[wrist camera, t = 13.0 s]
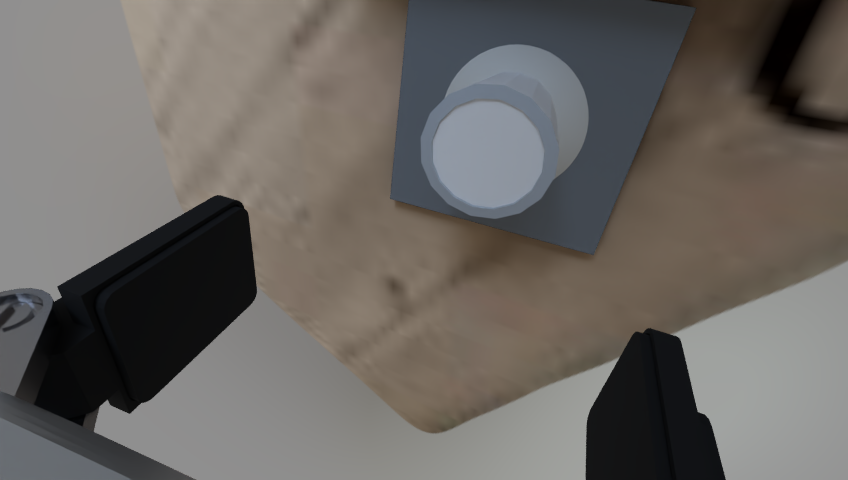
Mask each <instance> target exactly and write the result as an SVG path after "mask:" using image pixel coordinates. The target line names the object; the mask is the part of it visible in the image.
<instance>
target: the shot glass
mask: <svg viewBox="0 0 848 480" xmlns="http://www.w3.org/2000/svg"><path fill="white" fill-rule="evenodd" d="M558 154H559V140H558V129H557V118H556V111H555V108H554V104H553V101H552V97H551V95H550V94H549V92H548V91H547V90H546V89H545V88H544V86H543V85H542V84H541V83H540V82H539V81H538V80H536V79H534V78H532V77H530V76H528V75H526V74H524V73H522V72H501V73H499V74H496V75H494V76H491V77H489V78H486V79H484V80H481V81H479V82H477V83H474V84H472V85H469V86H467V87H465V88H462V89H460V90H457V91H455V92H453V93H450V94H448V95H447V97H446V98H445V99H444V100H443V101H442V102H441V103H440V104H439V105H438V106H437V107H436V108H435V109H434V110H433V111H432V112H431V113H430V114H429V117H428V120H427V122H426V125H425V127H424V130H423V133H422V135H421V163H422V166H423V168H424V170H425V173H426V175H427V177H428V180H429V182H430V185H431V186H432V187H433V189H434V190H435V191H436V192H437V193H438V194H439V195H440V196H441V197H442V198H443V199H444V200H445V201H446V202H447V203H448V204H449V205H451V206H453V207H455V208H457V209H458V210H460V211H462V212H464V213H466V214H468V215H470V216H477V217H485V218H492V219H497V218H502V217H506V216H510V215H515V214H519V213H521V212H523V211H524V210H525V209H527V208H528V207H530V206H531V205H533V204H534V203H536V202H537V201H538V200H540V199H541V198H542V197H543V195H544V193H545V192H546V190H547V189H548V187H549V185H550V184H551V182H552V181H553V179H554V178H555V175H556V168H557V161H558Z"/></svg>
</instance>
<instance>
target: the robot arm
mask: <svg viewBox="0 0 848 480" xmlns="http://www.w3.org/2000/svg"><path fill="white" fill-rule="evenodd" d="M58 290H59V292H60V294H61V296H62V298H60V299H58V300H57V301H55V302H54V301H53V299H52V297H51V296H50V294H48V293H47V292H45V291H43V290H39V289H32V288H26V289H14V290H9V291H3V292H0V480H196V479H193V478H191V477H189V476H187V475H185V474H183V473H181V472H179V471H176V470H174V469H172V468H170V467H168V466H166V465H164V464H161V463H159V462H157V461H155V460H153V459H151V458H149V457H146V456H144V455H142V454H140V453H138V452H136V451H134V450H131V449H129V448H127V447H125V446H123V445H121V444H118V443H116V442H114V441H112V440H110V439H108V438H105V437H103V436H101V435H99V434H97V433H95V432H94V428H95V423H96V419H97V415H98V411H99V406H100V405H102V404H103V403H104V402H105V401H106V400H107V399H108V401H109V403H110V405H111V406H113V407H116V408H118V409H120V410H122V411H125V412H127V413H129V414H130V413H131V412H132V411H133V410H134V409H135V408H136V407H137V406H138V405H140V404H141V403H144V402H147V401H149V400H151V399H152V398H153V397H154V396H155V395H156V394H157V393H158V392H159V391H160V390H161V389H162V388H164V387H165V386H166V385H167V384H168V383H169V382H170V381H171V380H172V379H173V378H174V377H175V376H176V375H177V374H178V373H179V372H180V371H181V370H183V368H185V367H186V366H187V365H188V364H189V363H190V362H191V361H192V360H193V359H194V358H195V357H196V356H197V355H198V354H199V353H200V352H201V351H202V350H203V349H205V348H206V347H207V346H208V345H209V344H210V343H211V342H212V341H213V340H214V339H215V338H216V337H217V336H218V335H219V334H220V333H221V332H222V331H224V330H225V329H226V328H227V327H228V326H229V325H230V324H231V323H232V322H233V321H234V320H235V319H236V318H237V317H238V316H239V315H240V314H241V313H242V312H243V311H244V310H246V309H247V308H248V307H249V306H250V305H251V304H252V302H253V301H254V299H255V297H256V294H257V286H256V278H255V269H254V260H253V251H252V242H251V233H250V225H249V216H248V212H247V210H245V209H244V206H243V204H242V203H241V202H239V201H237V200H234V199H230V198H227V197H224V196H221V195H217V196H214V197H212V198H210V199H208V200H207V201H205V202H203V203H202V204H200V205H198V206H196V207H195V208H193V209H191V210H189V211H188V212H186V213H184V214H182V215H181V216H179V217H177V218H176V219H174V220H172V221H170V222H169V223H167V224H165V225H163V226H162V227H160V228H158V229H156V230H155V231H153V232H151V233H150V234H148V235H146V236H144V237H143V238H141V239H139V240H137V241H136V242H134V243H132V244H130V245H129V246H127V247H125V248H124V249H122V250H120V251H118V252H117V253H115V254H113V255H111V256H110V257H108V258H106V259H105V260H103V261H101V262H99V263H98V264H96V265H94V266H92V267H91V268H89V269H87V270H86V271H84V272H82V273H81V274H78V275H77V276H75V277H73V278H71V279H70V280H68V281H66V282H65V283H63V284H61V285H59V286H58ZM586 437H587V439H586V480H726V479H725V475H724V471H723V467H722V464H721V460H720V456H719V452H718V448H717V444H716V440H715V437H714V433H713V429H712V426H711V423H710V421H709V419H708V418H707V417H706V415H704V414H701V413H699V412H697V408H696V403H695V399H694V395H693V391H692V386H691V382H690V378H689V373H688V369H687V365H686V361H685V356H684V352H683V348H682V344H681V341H680V339H679V338H678V337H677V336H673V335H670V334H667V333H664V332H660V331H657V330H654V329H651V328H648V329H646V330H645V331H644V333H640V332H635V333H634V334H633V335H632V337H631V339H630V340H629V342H628V344H627V346H626V348H625V349H624V351H623V353H622V355H621V356H620V358H619V360H618V362H617V363H616V365H615V367H614V369H613V370H612V372H611V374H610V376H609V378H608V379H607V381H606V383H605V385H604V386H603V388H602V390H601V392H600V393H599V395H598V397H597V399H596V401H595V402H594V404H593V406H592V408H591V410H590V412H589V415H588V420H587V435H586Z"/></svg>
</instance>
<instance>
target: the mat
mask: <svg viewBox="0 0 848 480" xmlns="http://www.w3.org/2000/svg"><path fill="white" fill-rule="evenodd" d="M695 10H696V8H695V7H689V6H683V5H676V4H670V3H664V2H657V1H651V0H409V3H408V14H407V24H406V35H405V46H404V56H403V67H402V78H401V88H400V99H399V110H398V120H397V131H396V142H395V152H394V163H393V174H392V185H391V195H390V199H393V200H397V201H400V202H404V203H407V204H411V205H415V206H418V207H422V208H425V209H429V210H433V211H436V212H440V213H443V214H447V215H451V216H454V217H458V218H461V219H465V220H469V221H472V222H476V223H480V224H483V225H487V226H490V227H494V228H498V229H501V230H505V231H508V232H512V233H516V234H519V235H523V236H526V237H530V238H534V239H537V240H541V241H545V242H548V243H552V244H555V245H559V246H563V247H566V248H570V249H573V250H577V251H581V252H584V253H588V254H591V255H594V252H595V250H596V248H597V245H598V243H599V240H600V238H601V236H602V233H603V231H604V228H605V226H606V224H607V221H608V219H609V216H610V214H611V212H612V209H613V207H614V204H615V202H616V200H617V197H618V195H619V192H620V190H621V188H622V185H623V183H624V180H625V178H626V176H627V173H628V171H629V168H630V166H631V164H632V161H633V159H634V156H635V154H636V152H637V149H638V147H639V144H640V142H641V140H642V137H643V135H644V132H645V130H646V128H647V125H648V123H649V120H650V118H651V116H652V113H653V111H654V108H655V106H656V104H657V101H658V99H659V96H660V94H661V92H662V89H663V87H664V84H665V82H666V80H667V77H668V75H669V72H670V70H671V68H672V65H673V63H674V60H675V58H676V56H677V53H678V51H679V48H680V46H681V44H682V41H683V39H684V36H685V34H686V32H687V29H688V27H689V24H690V22H691V20H692V17H693V15H694V12H695ZM501 72H522V73H524V74H526V75H528V76H530V77H532V78H534V79H536V80H538V81H539V82H540V83H541V84H542V85H543V86H544V88H545V89H546V90H547V91H548V92H549V94H550V95H551V97H552V101H553V104H554V108H555V111H556V118H557V129H558V140H559V154H558V161H557V168H556V175H555V178H554V179H553V181H552V182H551V184H550V185H549V187H548V189H547V190H546V192H545V193H544V195H543V197H542V198H541V199H540V200H538V201H537V202H536V203H534V204H533V205H531V206H530V207H528V208H527V209H525V210H524V211H523V212H521V213H519V214H515V215H510V216H506V217H502V218H497V219H492V218H485V217H477V216H470V215H468V214H466V213H464V212H462V211H460V210H458V209H457V208H455V207H453V206H451V205H449V204H448V203H447V202H446V201H445V200H444V199H443V198H442V197H441V196H440V195H439V194H438V193H437V192H436V191H435V190H434V189H433V187H432V186H431V185H430V182H429V180H428V177H427V175H426V173H425V170H424V168H423V166H422V163H421V135H422V133H423V130H424V127H425V125H426V122H427V120H428V117H429V114H430V113H431V112H432V111H433V110H434V109H435V108H436V107H437V106H438V105H439V104H440V103H441V102H442V101H443V100H444V99H445V98H446V97H447V95H448V94H450V93H453V92H455V91H457V90H460V89H462V88H465V87H467V86H469V85H472V84H474V83H477V82H479V81H481V80H484V79H486V78H489V77H491V76H494V75H496V74H499V73H501Z"/></svg>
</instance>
